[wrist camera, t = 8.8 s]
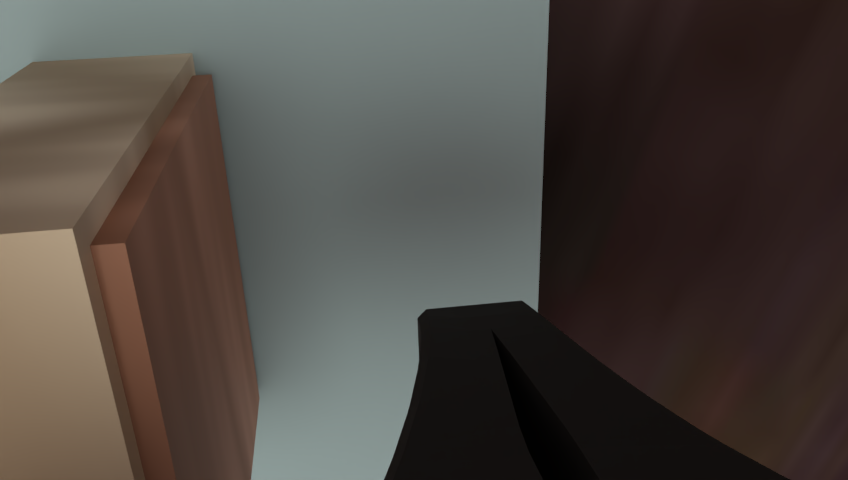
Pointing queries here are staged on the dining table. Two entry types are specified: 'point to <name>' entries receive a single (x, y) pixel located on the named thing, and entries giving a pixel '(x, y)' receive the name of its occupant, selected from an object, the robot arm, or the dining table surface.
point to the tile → (120, 278)
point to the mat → (347, 184)
